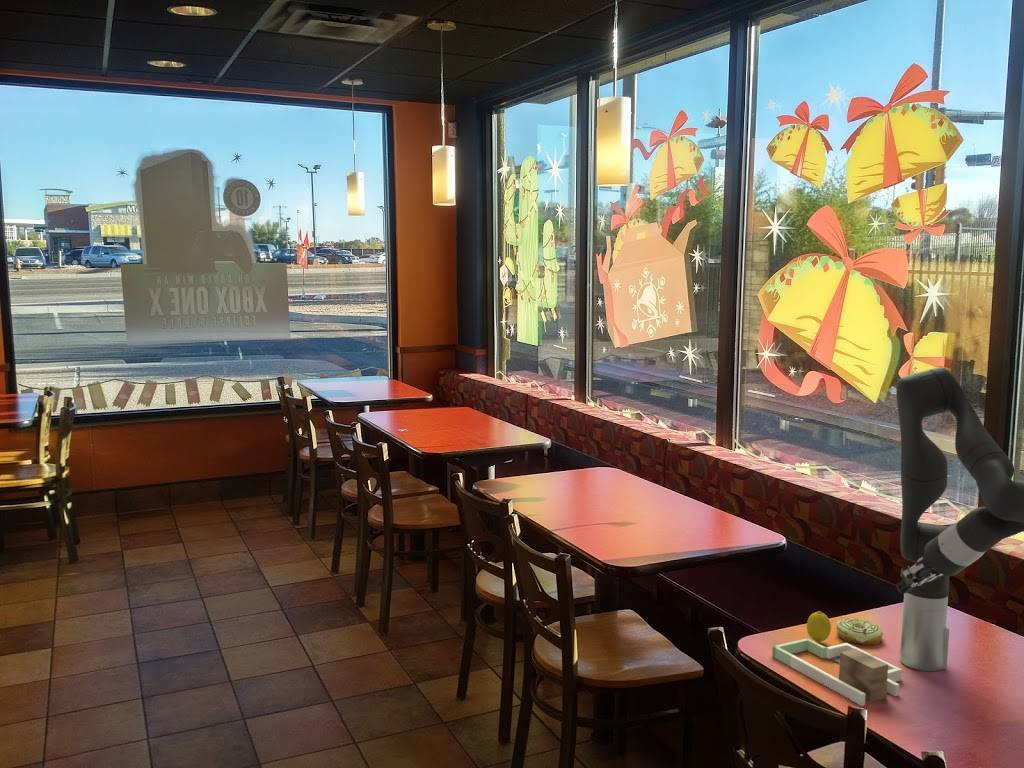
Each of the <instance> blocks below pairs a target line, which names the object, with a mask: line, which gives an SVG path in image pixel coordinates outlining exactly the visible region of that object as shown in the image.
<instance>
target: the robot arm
mask: <svg viewBox="0 0 1024 768" xmlns="http://www.w3.org/2000/svg"><path fill="white" fill-rule="evenodd" d="M952 373H953V372H951V371H950V370H948V369H947V368H945V367H934V368H930V369H926V370H922V371H918V372H913V373H911V374H907V375H905V376H902V377H901V378H900V379H899V380H898V381H897V384H896V390H895V392H896V394H895V395H896V403H897V405H896V406H897V413H898V420H899V421H898V422H899V429H900V450H901V451H900V453H901V454H900V484H901V501H902V502H901V503H902V504H901V505H902V508H901V509H902V510H901V525H900V526H901V527H900V539H899V541H900V543H899V544H900V547H899V548H900V553H901V556H902V558H904V560H906V561H909V562H912V563H914V564H913V565H912V566H908V565H903V566H902V567H901V569H900V574H899V575H900V577H901V578H902V579H901V580H900V581H898V582H897V583H895V587H896V590H897V592H898V593H899V594H900V595H902V594H903V603H902V604H903V607H902V619H901V638H900V639H901V640H900V650H899V655H900V656H899V660H900V663H902V665H905V666H906V667H908V668H910V669H914V670H918V671H923V672H937V671H940V670H947V669H948V656H949V641H950V628H949V627H948V626H947V620H948V619H947V618H948V603H949V602H948V601H949V591H950V590H949V589H950V588H949V587H950V585H949V583H950V577H952V576H956V575H958V574H959V573H960V572H962V571H963V570H964V569H966V568H967V567H969V566H971V565H972V564H973V563H974V562H976V561H977V560H979V559H980V558H982V556H983V555H984V554H985V553H986V552H988V551H989V550H991V548H994V546H997V544H999V543H1000V542H1001V541H1002V540H1005V539H1007V538H1010V537H1012V536H1016V535H1018V534H1020V533H1022V532H1024V482H1021V481H1020V482H1019V481H1015V480H1012V479H1013V477H1014V475H1015V466H1014V464H1013V462H1012V460H1011V459H1010V458H1009V456H1007V454H1006V452H1005V451H1004V450H1003V449H1002V448H1001V447H1000V446H999V445H998V443H997V442H996V441H995V440H994V438H992V436H991V434H990V433H989V432H988V431H987V429H986V428H985V426H984V424H983V423H982V420H981V418H980V417H979V415H978V414H977V411H976V410H975V408H974V406H973V405H972V402H971V401H970V400H969V398H968V396H967V394H966V393H965V391H964V389H963V388H962V386H961V384H960V383H959V381H958V379H956V377H955V375H954V374H952ZM946 412H950V413H951V414H952V415H953V416H954V418H955V420H956V431H955V440H954V445H955V452H956V455H957V457H958V459H959V461H960V463H961V464H962V465H963V467H964V468H965V469H966V470H967V472H968V473H969V474H970V476H971V477H972V478H973V479H974V480H975V483H976V486H977V489H978V492H979V495H980V497H981V500H982V502H983V504H984V506H979V507H976V508H974V509H973V510H971V511H970V512H969V513H967V514H966V515H964V517H962V518H961V519H959V520H958V521H956V522H955V523H952V524H951V525H949V526H947V525H942V524H935V523H927V522H920V521H919V520H920V518H921V517H922V515H923V514H924V513H925V512H926V511H927V510H928V509H929V508H931V506H933V505H934V504H935V503H936V502H937V501H938V500H939V499H940V498H941V497H942V496H943V495H944V493H945V492H946V489H947V486H948V460H947V457H946V455H945V454H944V452H943V451H942V449H941V448H940V447H939V446H938V445H937V444H936V443H934V442H933V441H932V440H931V438H929V436H927V434H926V433H925V432H924V429H923V420H924V419H925V418H927V417H933V416H935V415H939V414H942V413H946Z"/></svg>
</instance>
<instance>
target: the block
mask: <svg viewBox="0 0 1024 768" xmlns="http://www.w3.org/2000/svg"><path fill="white" fill-rule="evenodd" d="M838 668H839V669H838V679H839V680H841V681H843V682H845V683H847V684H848V685H850V686H852V687H854V688H856V689H858V690H860V691H861V692H863V693H865V694H866V696H865V701H866V700H867V702H870V703H873V702H875V701H879V700H883V699H886V698H887V692H886V691H887V675H888V664H886V663H884V662H882V661H880V660H877V659H875V658H873V657H871V656H869V655H867V654H865V653H863V652H861V651H859V650H857V649H852V650H848V651H844V652H840V664H839V667H838Z"/></svg>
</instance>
